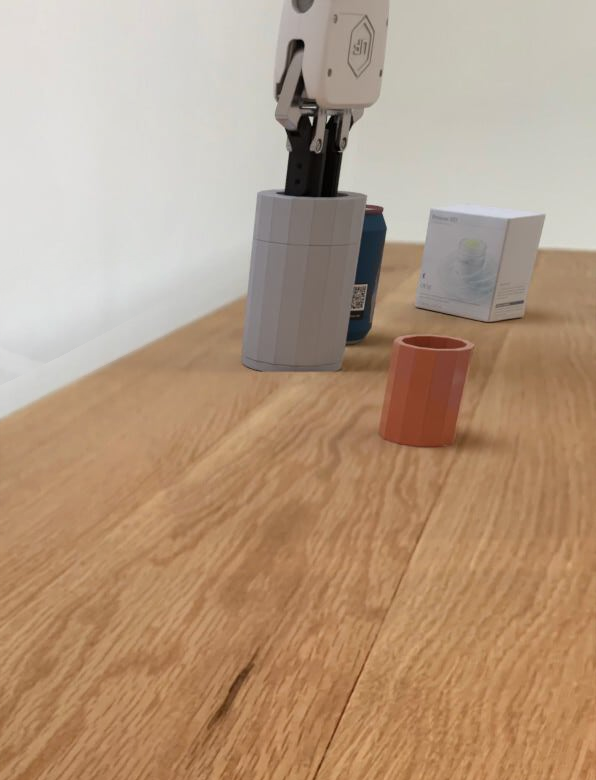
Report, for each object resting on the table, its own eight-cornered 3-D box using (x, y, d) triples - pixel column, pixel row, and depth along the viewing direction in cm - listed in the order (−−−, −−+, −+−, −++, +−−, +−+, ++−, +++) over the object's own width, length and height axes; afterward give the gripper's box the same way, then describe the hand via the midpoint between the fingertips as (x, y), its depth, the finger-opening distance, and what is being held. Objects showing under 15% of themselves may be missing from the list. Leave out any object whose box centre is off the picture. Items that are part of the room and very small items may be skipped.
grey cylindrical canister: (326, 353, 105) (349, 189, 98) (353, 375, 97) (380, 199, 90) (232, 353, 105) (248, 188, 97) (252, 375, 97) (271, 198, 90)
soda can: (287, 332, 113) (303, 202, 107) (349, 330, 114) (368, 202, 108) (316, 347, 107) (335, 210, 101) (382, 344, 109) (404, 209, 102)
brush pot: (437, 432, 82) (457, 334, 79) (464, 453, 78) (485, 350, 74) (369, 433, 82) (385, 334, 78) (391, 453, 77) (409, 350, 74)
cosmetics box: (410, 307, 126) (428, 205, 120) (449, 302, 129) (467, 202, 123) (487, 323, 118) (509, 215, 113) (525, 317, 121) (549, 212, 116)
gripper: (334, -73, 77) (298, 215, 87) (435, -56, 88) (393, 201, 97) (243, -68, 82) (219, 207, 91) (350, -51, 92) (318, 195, 101)
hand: (309, 202), depth 94 cm, fingers closed
